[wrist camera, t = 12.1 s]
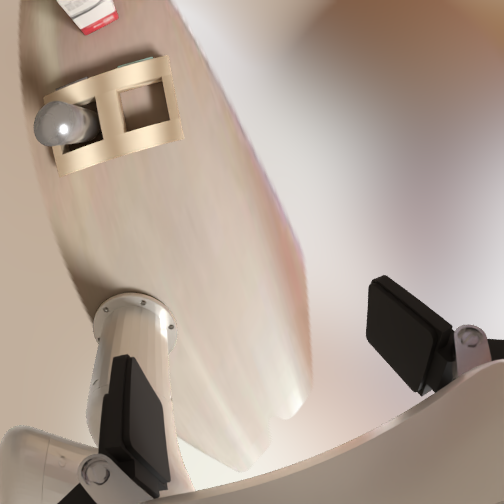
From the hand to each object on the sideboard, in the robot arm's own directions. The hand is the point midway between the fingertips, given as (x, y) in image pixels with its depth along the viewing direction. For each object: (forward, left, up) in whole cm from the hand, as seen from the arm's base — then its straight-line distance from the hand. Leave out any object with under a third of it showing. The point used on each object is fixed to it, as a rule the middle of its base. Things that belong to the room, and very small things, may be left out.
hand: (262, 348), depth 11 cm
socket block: (+6, +13, -28) cm, 32 cm away
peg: (+4, +16, -28) cm, 33 cm away
